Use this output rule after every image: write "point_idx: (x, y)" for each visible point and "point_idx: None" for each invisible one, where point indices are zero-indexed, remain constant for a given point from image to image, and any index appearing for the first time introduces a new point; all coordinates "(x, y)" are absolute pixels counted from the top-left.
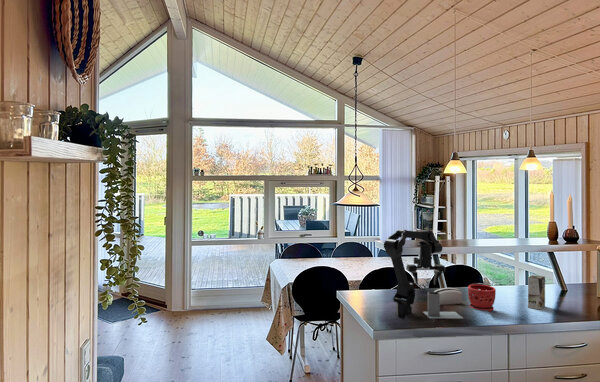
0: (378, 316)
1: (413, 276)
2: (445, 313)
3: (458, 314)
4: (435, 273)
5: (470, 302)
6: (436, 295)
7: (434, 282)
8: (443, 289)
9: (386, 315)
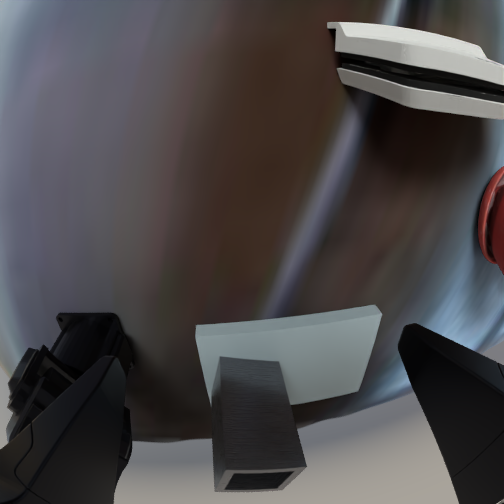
0: (15, 343)
1: (15, 448)
2: (317, 350)
3: (370, 352)
4: (502, 465)
5: (500, 219)
6: (263, 486)
7: (414, 371)
8: (479, 78)
9: (33, 333)
